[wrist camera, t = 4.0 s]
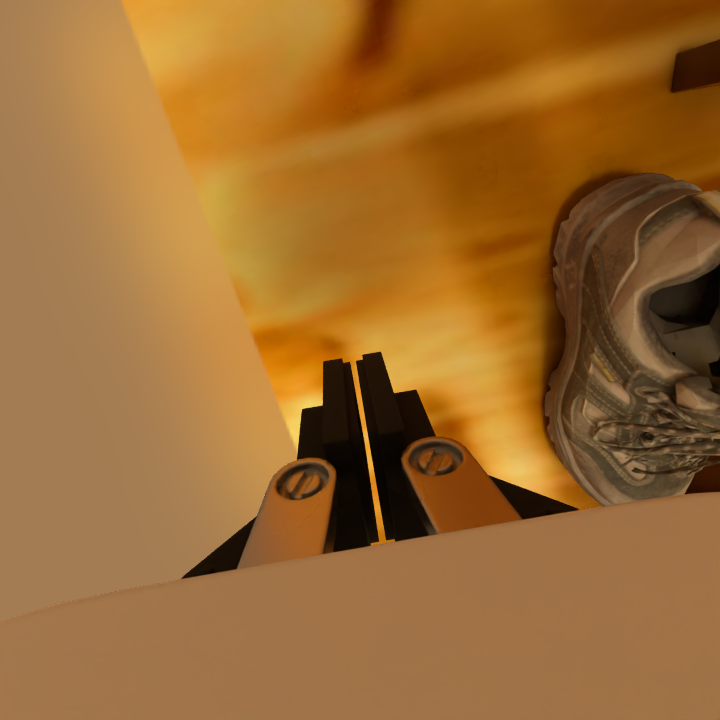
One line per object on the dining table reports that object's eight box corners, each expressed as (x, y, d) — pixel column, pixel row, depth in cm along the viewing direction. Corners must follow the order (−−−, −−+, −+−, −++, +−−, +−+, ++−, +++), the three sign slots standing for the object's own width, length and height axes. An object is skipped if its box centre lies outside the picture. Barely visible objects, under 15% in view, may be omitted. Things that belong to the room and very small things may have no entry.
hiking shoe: (540, 521, 29) (775, 649, 18) (482, 218, 22) (806, 154, 12) (614, 453, 32) (842, 529, 22) (584, 177, 26) (895, 103, 15)
